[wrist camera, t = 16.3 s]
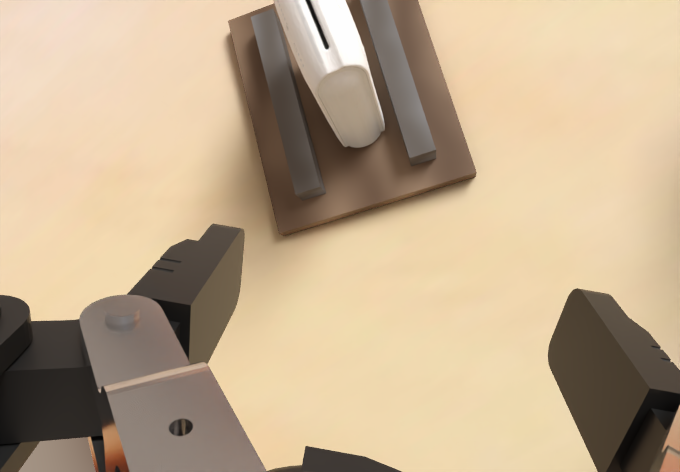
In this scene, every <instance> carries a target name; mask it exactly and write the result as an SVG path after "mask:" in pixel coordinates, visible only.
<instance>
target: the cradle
mask: <svg viewBox="0 0 680 472" xmlns="http://www.w3.org/2000/svg"><path fill="white" fill-rule="evenodd" d="M345 1H346V3H347V5H348V8H349V10H350V13H351V15H352V18H353V20H354V23H355V25H356V28H357V31H358V33H359V36H360V39H361V42H362V44H363V46H364V50H365V53H366V57H367V61H368V65H369V69H370V72H371V76H372V79H373V83H374V87H375V90H376V94H377V97H378V100H379V103H380V107H381V110H382V113H383V118H384V124H385V130H384V131H382V132H381V134H380V136H379V137H378V138H377V140H376V141H374V142H373V143H372V144H370V145H368V146H365V147H361V148H354V147H350V146H347V147H344V146H343V145H342V143H341V142H340V141H339V139H338V138H337V136H336V134H335V133H334V131H333V129H332V128H331V126H330V124H329V122H328V121H327V119H326V117H325V115H324V114H323V112H322V110H321V108H320V106H319V104H318V103H317V101H316V99H315V97H314V95H313V94H312V92H311V90H310V88H309V86H308V84H307V83H306V81H305V79H304V77H303V75H302V72H301V70H300V68H299V66H298V63H297V61H296V59H295V56H294V54H293V52H292V49H291V47H290V44H289V42H288V39H287V37H286V34H285V32H284V29H283V26H282V24H281V21H280V18H279V15H278V12H277V10H276V6H275V3H274V4H272V5H269V6H266V7H264V8H261V9H258V10H256V11H253V12H250V13H248V14H245V15H242V16H240V17H237V18H235V19H232V20H229V21H228V23H229V27H230V31H231V35H232V39H233V43H234V48H235V52H236V56H237V60H238V64H239V68H240V73H241V77H242V81H243V85H244V89H245V93H246V97H247V102H248V106H249V110H250V114H251V118H252V122H253V127H254V131H255V135H256V139H257V143H258V147H259V152H260V156H261V160H262V164H263V168H264V172H265V177H266V181H267V185H268V189H269V193H270V197H271V201H272V206H273V210H274V214H275V218H276V222H277V226H278V231H279V233H280V234H281V235H283V236H285V235H288V234H291V233H295V232H298V231H301V230H304V229H308V228H311V227H314V226H317V225H321V224H324V223H327V222H330V221H334V220H337V219H340V218H343V217H347V216H350V215H353V214H356V213H360V212H363V211H366V210H369V209H373V208H376V207H379V206H382V205H386V204H389V203H392V202H395V201H399V200H402V199H405V198H408V197H412V196H415V195H418V194H421V193H425V192H428V191H431V190H434V189H438V188H441V187H444V186H447V185H451V184H454V183H457V182H460V181H463V180H467V179H470V178H473V177H476V169H475V166H474V164H473V161H472V158H471V155H470V152H469V149H468V146H467V143H466V140H465V137H464V134H463V131H462V128H461V125H460V123H459V120H458V117H457V114H456V111H455V108H454V105H453V102H452V99H451V96H450V93H449V90H448V87H447V84H446V82H445V79H444V76H443V73H442V70H441V67H440V64H439V61H438V58H437V55H436V52H435V49H434V46H433V43H432V41H431V38H430V35H429V32H428V29H427V26H426V23H425V20H424V17H423V14H422V11H421V8H420V5H419V2H418V0H345Z"/></svg>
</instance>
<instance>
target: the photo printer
mask: <svg viewBox="0 0 680 472" xmlns="http://www.w3.org/2000/svg"><path fill="white" fill-rule="evenodd" d="M274 3H275V6H276V10H277V12H278V15H279V18H280V21H281V24H282V26H283V29H284V32H285V34H286V37H287V39H288V42H289V44H290V47H291V49H292V52H293V54H294V56H295V59H296V61H297V63H298V66H299V68H300V70H301V72H302V75H303V77H304V79H305V81H306V83H307V84H308V86H309V88H310V90H311V92H312V94H313V95H314V97H315V99H316V101H317V103H318V104H319V106H320V108H321V110H322V112H323V114H324V115H325V117H326V119H327V121H328V122H329V124H330V126H331V128H332V129H333V131H334V133H335V134H336V136H337V138H338V139H339V141H340V142H341V143H342V145H343V146H344V147H347V146H350V147H354V148H361V147H365V146H368V145H370V144H372V143H373V142H374V141H376V140H377V138H378V137H379V136H380V134H381V132H382V131H384V130H385V124H384V118H383V113H382V110H381V107H380V103H379V100H378V97H377V94H376V90H375V87H374V83H373V79H372V76H371V72H370V69H369V65H368V61H367V57H366V53H365V50H364V46H363V44H362V42H361V39H360V36H359V33H358V31H357V28H356V25H355V23H354V20H353V18H352V15H351V13H350V10H349V8H348V5H347V3H346V1H345V0H274Z"/></svg>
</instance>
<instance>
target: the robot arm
mask: <svg viewBox="0 0 680 472" xmlns="http://www.w3.org/2000/svg"><path fill="white" fill-rule="evenodd" d="M243 250H244V230H243V229H240V228H234V227H229V226H223V225H217V224H212V225H211V226H210V227H209V228H208V230H207V231H206V232H205V233H204V235H203V236H202V237H201V238H200V240H199V241H195V240H189V239H187V240H184V241H182V242H180V243H178V244H176V245H173V246H171V247H170V248H169V249H168V250H167V251H166V252H165V253H164V254H163V256H162V257H161V258H160V260H158V261H157V262H156V263H155V264H154V265H153V266H152V269H150V270H149V271H148V272H147V273H146V274H145V275H144V276H143V277H142V279H141V280H140V281H139V282H138V283H137V284H136V285H135V286H134V287H133V288H132V289H131V291H130V292H129V293H128V294H127V295H117V296H111V297H107V298H103V299H100V300H98V301H96V302H94V303H92V304H90V305H89V306H88V307H86V308H85V309H84V310H83V312H82V313H81V315H80V319H78V320H65V321H31V317H30V309H29V306H28V305H27V304H26V303H25V302H24V301H22V300H21V299H18V298H15V297H11V296H5V295H0V472H18V471H19V470H20V468H21V467H22V466H23V464H24V463H25V461H26V460H27V459H28V457H29V456H30V454H31V453H32V451H33V450H34V449H35V448H36V446H37V444H38V443H39V442H40V441H46V440H57V439H69V438H80V437H88V441H89V446H90V450H91V455H92V459H93V463H94V467H95V471H96V472H401V471H399V470H396V469H394V468H392V467H389V466H387V465H384V464H382V463H379V462H377V461H374V460H372V459H369V458H367V457H363V456H358V455H352V454H347V453H341V452H336V451H330V450H325V449H319V448H314V447H308V446H306V447H305V453H304V458H303V464H302V465H300V466H288V467H282V468H276V469H272V470H269V471H266V469H265V467H264V466H263V464H262V462H261V460H260V458H259V456H258V455H257V453H256V451H255V449H254V447H253V446H252V444H251V442H250V440H249V438H248V437H247V435H246V433H245V431H244V429H243V427H242V426H241V424H240V422H239V420H238V418H237V417H236V415H235V413H234V411H233V409H232V408H231V406H230V404H229V402H228V400H227V398H226V397H225V395H224V393H223V391H222V389H221V388H220V386H219V384H218V382H217V380H216V379H215V377H214V375H213V373H212V371H211V370H210V368H209V366H208V365H207V364H208V362H209V360H210V358H211V356H212V354H213V352H214V350H215V348H216V346H217V344H218V342H219V340H220V338H221V336H222V334H223V332H224V330H225V328H226V326H227V324H228V322H229V320H230V318H231V316H232V314H233V312H234V310H235V308H236V305H237V301H238V297H239V292H240V285H241V274H242V262H243ZM670 360H671V359H670V358H669V357H668V356H667V354H666V353H665V352H664V351H663V350H660V346H659V345H658V343H657V342H656V341H655V340H654V339H653V337H652V336H651V335H650V334H649V332H647V331H646V330H645V329H643V328H642V327H641V326H639V325H638V324H637V323H635V322H634V321H633V320H631V319H630V318H628V316H627V315H626V314H625V313H624V311H623V310H622V309H621V307H620V306H619V305H618V304H617V302H616V301H615V300H614V299H613V297H612V296H611V295H609V294H605V293H599V292H594V291H588V290H582V289H574V290H573V291H572V292H571V293H570V295H569V296H568V299H567V301H566V304H565V306H564V309H563V311H562V314H561V316H560V319H559V321H558V323H557V326H556V328H555V331H554V333H553V336H552V338H551V341H550V344H549V350H548V362H549V366H550V369H551V371H552V373H553V375H554V378H555V380H556V382H557V384H558V386H559V388H560V391H561V393H562V395H563V397H564V399H565V401H566V404H567V406H568V408H569V410H570V412H571V414H572V417H573V419H574V421H575V423H576V425H577V427H578V430H579V432H580V434H581V436H582V438H583V440H584V443H585V445H586V447H587V449H588V451H589V453H590V456H591V458H592V460H593V462H594V464H595V466H596V469H597V471H598V472H680V370H679V369H678V368H677V367H676V365H675V364H674V363H673V362H670Z"/></svg>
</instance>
